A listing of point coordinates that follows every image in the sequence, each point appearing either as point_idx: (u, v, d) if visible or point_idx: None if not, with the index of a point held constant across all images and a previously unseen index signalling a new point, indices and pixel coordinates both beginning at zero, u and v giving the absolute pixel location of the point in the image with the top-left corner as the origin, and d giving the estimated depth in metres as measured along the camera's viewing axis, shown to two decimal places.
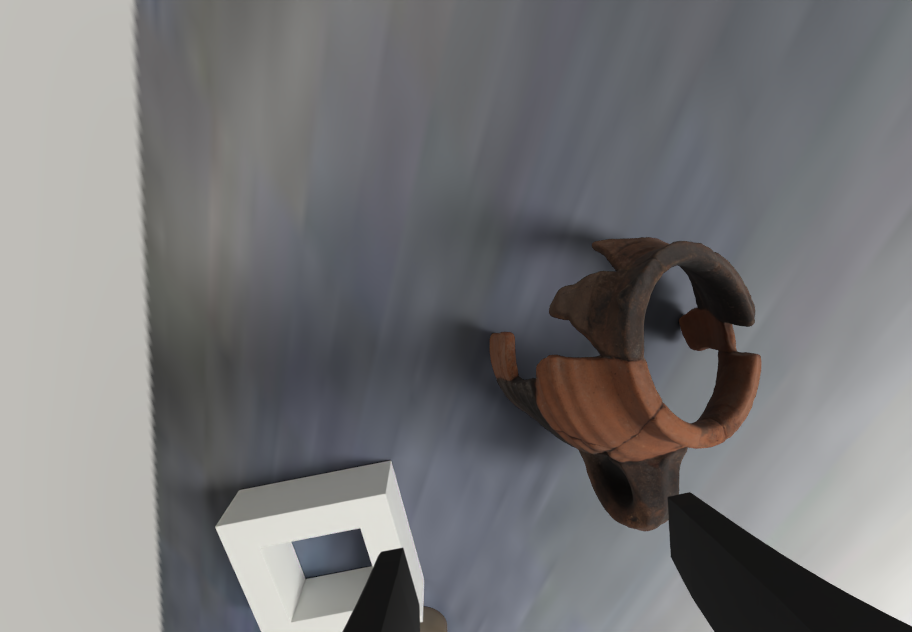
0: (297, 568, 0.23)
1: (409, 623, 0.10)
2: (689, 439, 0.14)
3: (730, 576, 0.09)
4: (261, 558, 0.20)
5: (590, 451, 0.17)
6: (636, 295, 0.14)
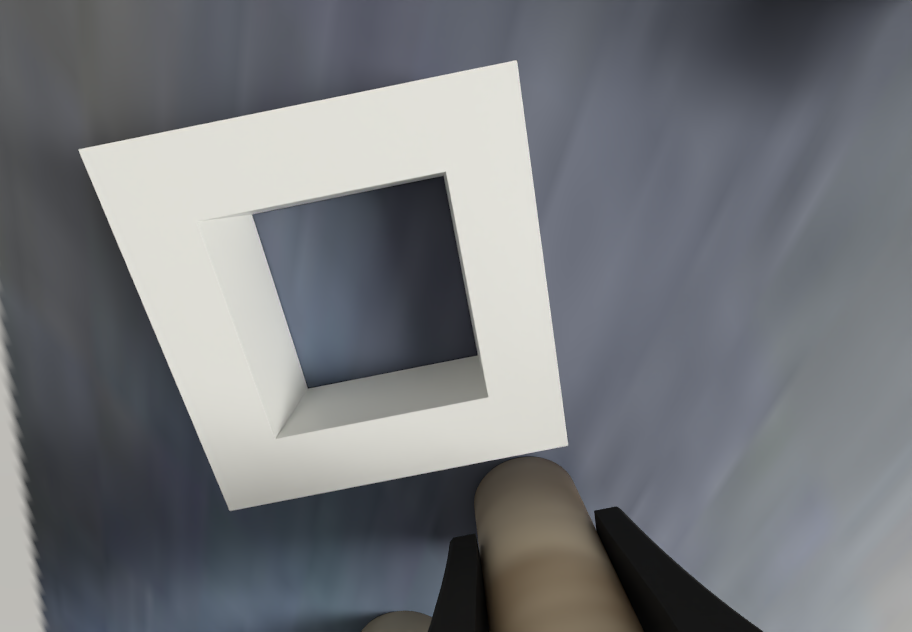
0: (291, 355, 0.11)
1: None
2: None
3: (639, 593, 0.09)
4: (201, 256, 0.08)
5: None
6: None
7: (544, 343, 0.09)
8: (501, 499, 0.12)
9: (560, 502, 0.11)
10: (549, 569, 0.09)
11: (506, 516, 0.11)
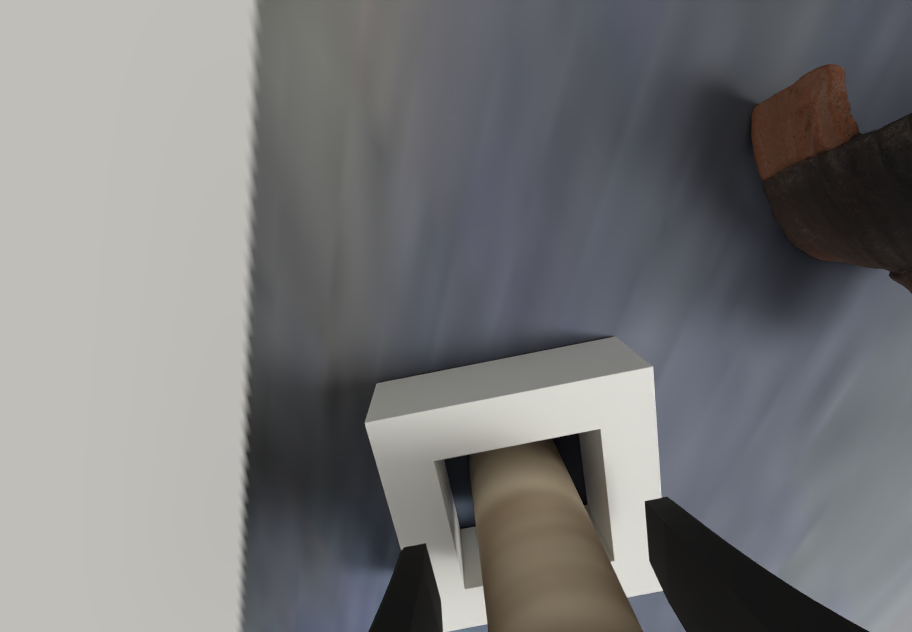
0: (454, 510, 0.15)
1: (434, 618, 0.10)
2: None
3: (701, 581, 0.09)
4: (433, 481, 0.12)
5: None
6: None
7: None
8: (490, 456, 0.14)
9: (539, 455, 0.13)
10: (526, 504, 0.11)
11: (493, 468, 0.13)
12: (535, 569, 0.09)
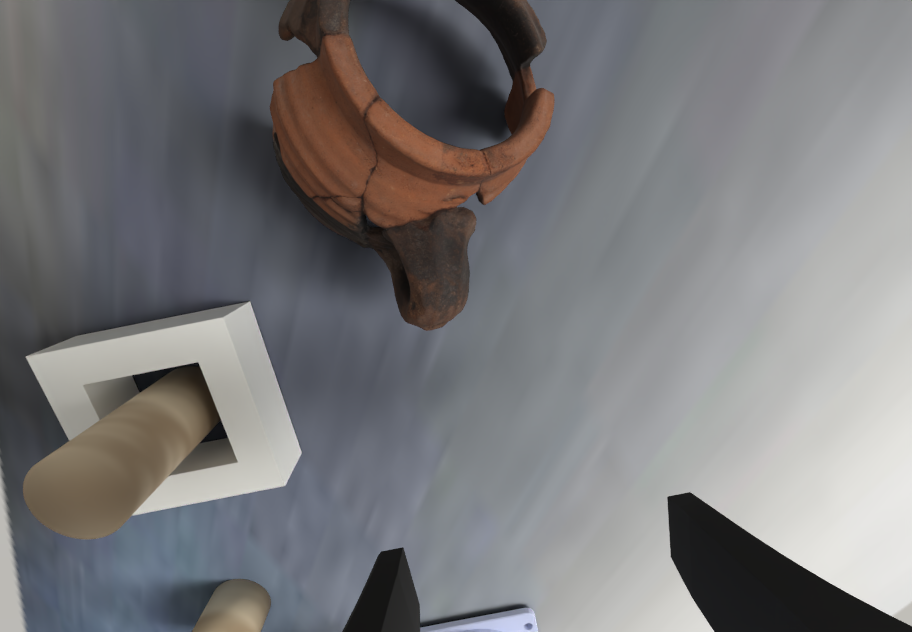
0: None
1: (409, 623, 0.10)
2: (425, 153, 0.11)
3: (730, 576, 0.09)
4: (85, 399, 0.17)
5: (350, 218, 0.14)
6: None
7: (261, 436, 0.18)
8: None
9: (173, 384, 0.18)
10: (120, 408, 0.16)
11: (139, 393, 0.18)
12: (74, 438, 0.14)
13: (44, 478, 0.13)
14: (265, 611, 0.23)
